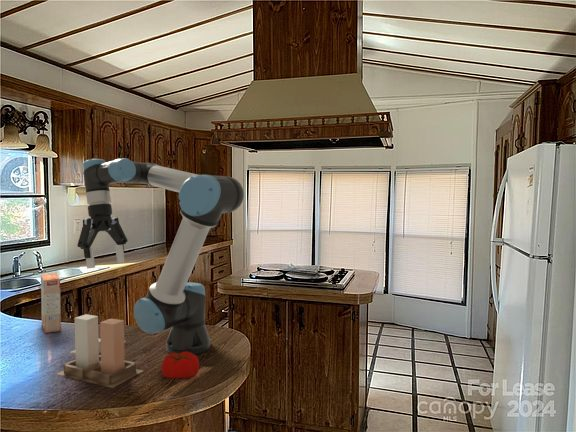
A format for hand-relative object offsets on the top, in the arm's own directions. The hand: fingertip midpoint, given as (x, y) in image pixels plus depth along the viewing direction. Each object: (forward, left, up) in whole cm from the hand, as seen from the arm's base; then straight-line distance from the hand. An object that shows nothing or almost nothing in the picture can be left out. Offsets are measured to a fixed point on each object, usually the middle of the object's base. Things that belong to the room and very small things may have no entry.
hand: (106, 265), depth 144 cm
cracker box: (+35, -18, -30) cm, 49 cm away
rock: (+4, +3, -30) cm, 30 cm away
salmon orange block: (-15, +22, -28) cm, 38 cm away
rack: (-10, +21, -29) cm, 37 cm away
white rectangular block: (-5, +19, -28) cm, 34 cm away
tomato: (-33, +16, -30) cm, 47 cm away
